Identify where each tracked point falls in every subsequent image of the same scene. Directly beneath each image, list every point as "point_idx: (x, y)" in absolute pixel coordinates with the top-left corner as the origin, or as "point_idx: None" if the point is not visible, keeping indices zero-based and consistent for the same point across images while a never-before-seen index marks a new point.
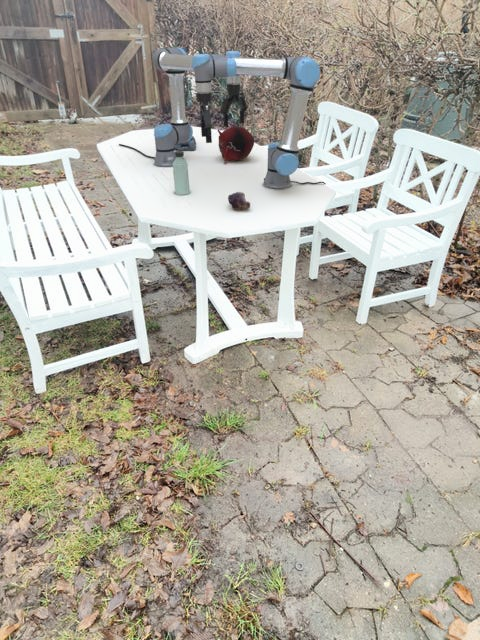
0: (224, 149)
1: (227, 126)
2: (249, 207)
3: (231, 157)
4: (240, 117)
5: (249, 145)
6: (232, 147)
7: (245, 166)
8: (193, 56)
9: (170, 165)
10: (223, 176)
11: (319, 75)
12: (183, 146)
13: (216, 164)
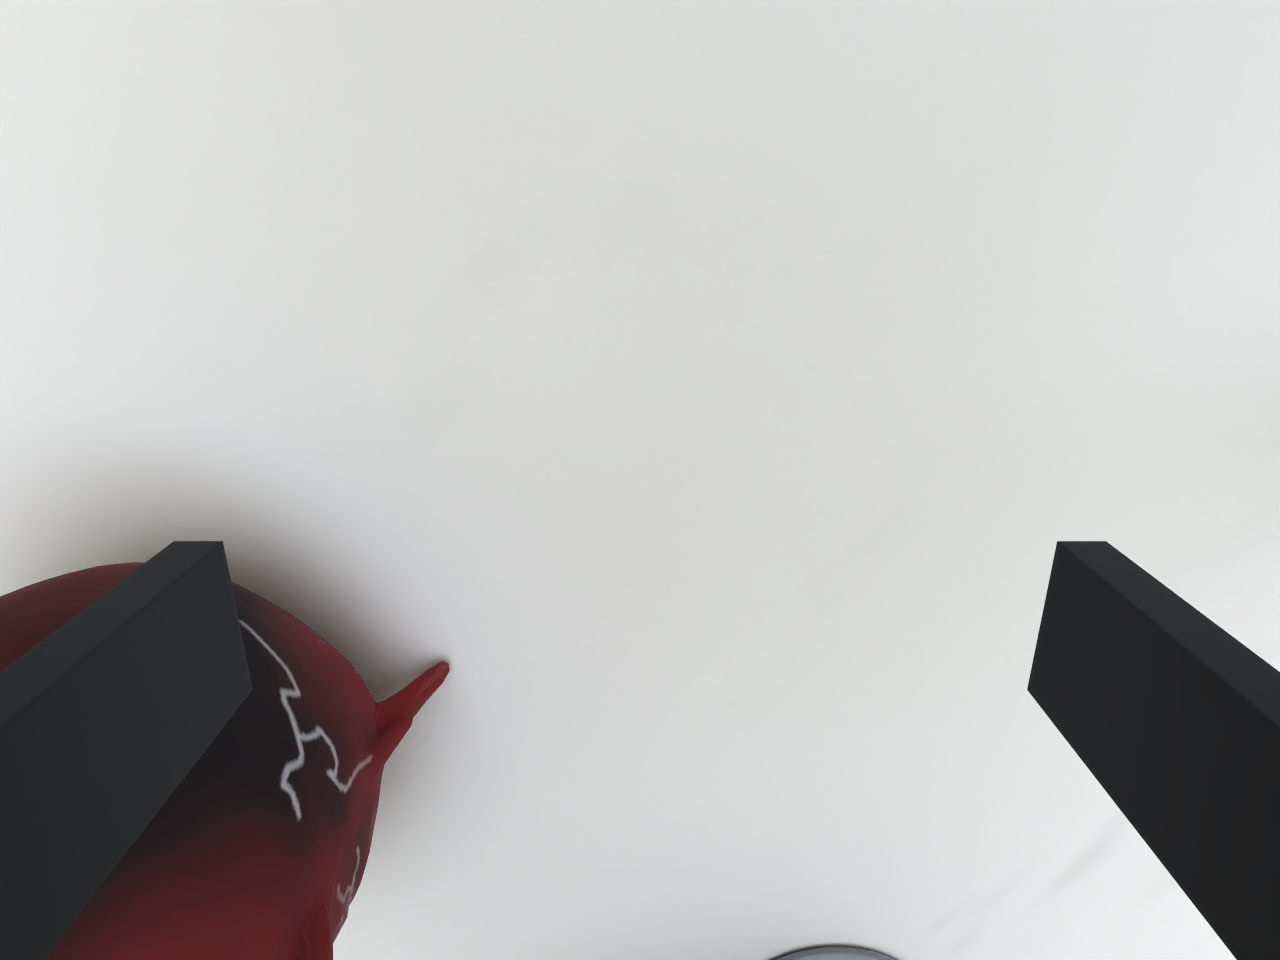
0: (369, 798)
1: (1112, 550)
2: None
3: (352, 667)
4: (139, 803)
5: (57, 596)
6: (307, 724)
7: (331, 438)
8: None
9: (876, 957)
10: (808, 359)
11: None
12: None
13: (522, 715)
